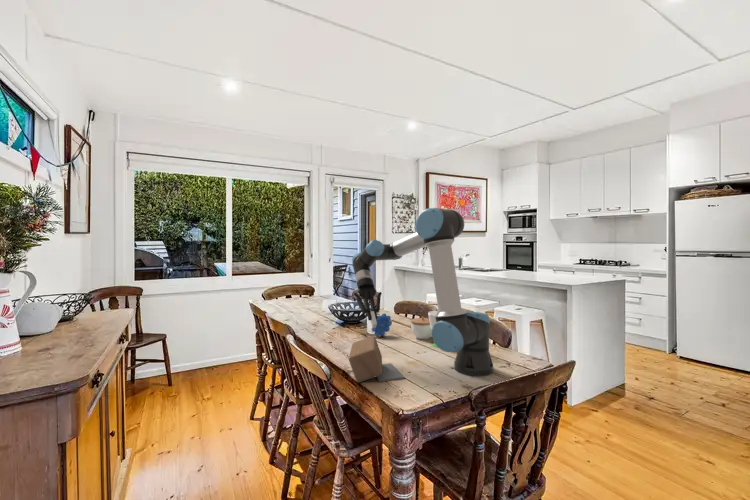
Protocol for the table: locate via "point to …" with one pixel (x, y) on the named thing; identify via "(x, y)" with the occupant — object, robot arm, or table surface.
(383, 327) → the grapes
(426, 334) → the lidded bowl
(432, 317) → the cup
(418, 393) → the table surface
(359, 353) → the wooden block
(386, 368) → the rubber mat
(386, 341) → the table surface
